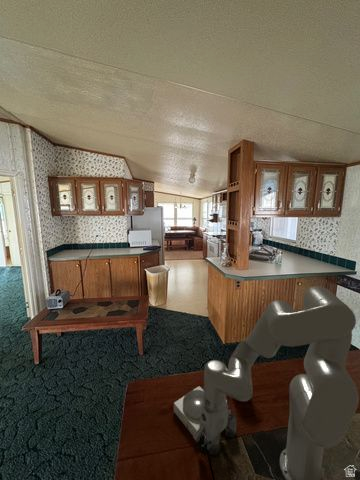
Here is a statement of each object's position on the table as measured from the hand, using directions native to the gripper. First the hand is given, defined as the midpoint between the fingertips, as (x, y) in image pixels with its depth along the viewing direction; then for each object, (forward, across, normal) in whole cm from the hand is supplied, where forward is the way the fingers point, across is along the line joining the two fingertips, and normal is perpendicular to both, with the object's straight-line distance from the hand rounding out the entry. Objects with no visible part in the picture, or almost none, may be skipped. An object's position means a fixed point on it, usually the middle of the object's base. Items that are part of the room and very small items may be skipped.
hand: (212, 442), depth 73 cm
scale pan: (-3, +4, +12) cm, 13 cm away
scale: (+2, +4, +12) cm, 13 cm away
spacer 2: (+2, +9, 0) cm, 9 cm away
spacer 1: (+2, 0, 0) cm, 2 cm away
